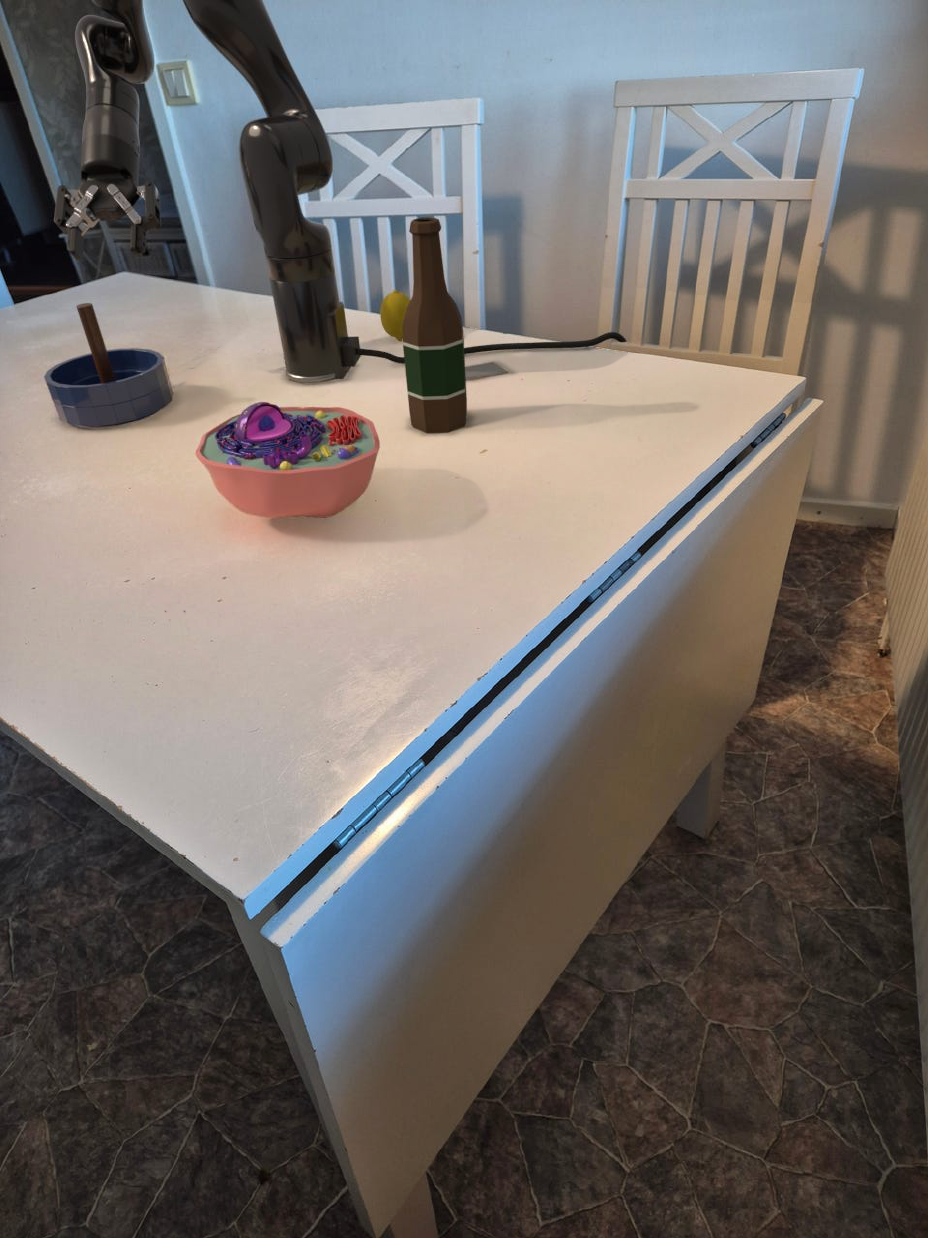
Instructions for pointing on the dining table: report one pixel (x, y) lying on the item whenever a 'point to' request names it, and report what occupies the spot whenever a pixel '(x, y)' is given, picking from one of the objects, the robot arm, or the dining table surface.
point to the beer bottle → (433, 339)
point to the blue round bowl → (110, 388)
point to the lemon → (394, 313)
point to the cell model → (291, 459)
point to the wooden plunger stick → (96, 342)
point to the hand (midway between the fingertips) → (106, 255)
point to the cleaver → (484, 370)
